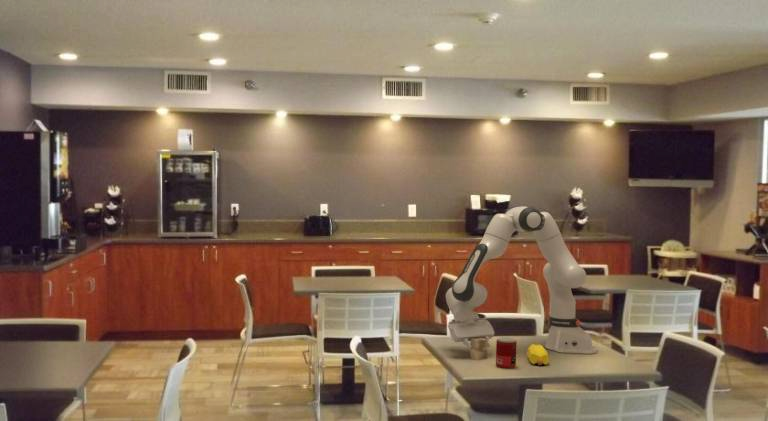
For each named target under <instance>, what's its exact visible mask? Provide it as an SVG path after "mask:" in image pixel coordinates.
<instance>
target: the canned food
mask: <svg viewBox="0 0 768 421" xmlns="http://www.w3.org/2000/svg"><path fill="white" fill-rule="evenodd" d="M517 346H518V345H517V339H516V338H513V337H504V336H501V337H496V347H495V365H496V367H497V368H499V369H515V368H516V365H517Z"/></svg>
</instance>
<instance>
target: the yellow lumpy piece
mask: <svg viewBox="0 0 768 421" xmlns="http://www.w3.org/2000/svg"><path fill="white" fill-rule="evenodd" d="M526 356H527V357H528V360H529V362H530V363H531V364H532V365H533V366H534V365H536V364H537V365H538V366H542V365H543V366H547V365H548V364H549V363H550V360H549V354H548V351H547V349H546V348H545V347H543V345H541V344H534V343H532V344H530V345H529V347H528V348H527V352H526Z"/></svg>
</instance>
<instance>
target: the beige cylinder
mask: <svg viewBox="0 0 768 421" xmlns="http://www.w3.org/2000/svg"><path fill="white" fill-rule="evenodd" d="M469 343H470V344H472V346H473V348H472V349H469V350H470V351H469V357H470V358H471V359H473V360H476V361H480V360H487V359H488V348H487V340H486V339H483V338H471V341H469Z"/></svg>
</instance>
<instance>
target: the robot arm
mask: <svg viewBox="0 0 768 421" xmlns="http://www.w3.org/2000/svg"><path fill="white" fill-rule="evenodd" d="M515 232H529V233H533V235H534V237H535V241H536V243H537V245H538V248H539V251H540V253H541V255H542V257H543V258H544V259H545V260H546V261H547V262H546V264H545V265H544V267H543V269H542V276H543V278H544V279H545V282H546V284H547V287H548V288H547V289H548V293H549V299H550V300H549V301H550V303H549V309H550V310H549V317H548V335H547V340H546V343H545V347H544V348H545V349H546V350H547V349H548V350H551V351H555V352H558V353H568V354H583V355H584V354H586V355H588V354H589V355H593V354H596V353H597V352H598V348H597V347H596V346H593V341H592V337H591V335H590V334H589V333H588V332H586V331H585V330H584V329H583V328H581V327H580V324H581V321H580V319H579V318H577V317H576V305H577V302H576V298H575V297H574V295H573V293H572V292H573V291H572V289H577V288H580V287H583V285H584V284H585V283H586V280H587V273H586V271H585V269H584V268H583V267H582V266H580V264H579V263H578V262H577V260H576V259H575V258H574V256H573V254H572V253H571V252H570V250H569V249H568V246H567V245H566V243H565V240H564V238H563V236H562V233H561V232H560V229H559V226H558V224H557V223H556V221H555V219H554V218H553V216H552V215H551V214H550V213H549V212H547V211H539V210H538V209H536V208H535V207H532V206H525V205H524V206H512V207H510V208H507V210H506V211H505V212H504V213H496V214H494V215H493V217H492V219H490V222H489V224H488V226H487V227H486V229H485V232H484V235H483V237H482V239H481V241H480V242H479V243H478V244H477V245H476V246H474V249H473V250H472V252H471V253H470V256H469V257H468V259H467V261H466V263H465V265H464V267H463V269H462V270H461V273H460V274H459V275H458V277H457V278H456V279H455V280H454V281H453V284H452V286H451V287H450V288H449V289H448V290H447V291H446V293H445V300H446V304H447V307H448V308H449V311H450V312H451V314H452V315H453V318H454V321H449V322H448V324H447V327H448V329H449V333H450V337H451V338H452V341H453V342H455V343H460V342H461V343H462V344H463V345H465V346H466V347H467V350H470V349H472V348H473V346H472V344H470V342H471V338H483V339H486V340H487V349H488V348H490V346H491V344H490V339H491V340H492V338H493V337H494V336H495V333H496V332H495V330H494V327H493V326H492V323H490V321H489V320H487V316H486V314H484V313H480V312H476V311H474V309H476V308H479V307H480V306H482V305H483V304H485V303H486V301H487V299H488V296H489V294H488V290H487V288H486V287H485V286H484V285H483V284H480V283H478V282H475V280H476V277H477V274H478V273H479V271H480V269H481V267H482V266H483V264H484V263H485V262H486V261H489V260H491V259H498V258H500V257H501V256H503V255H504V253H505V252H506V250H507V248H508V246H509V243H510V240H511V237H512V235H513V234H514V233H515Z"/></svg>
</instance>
